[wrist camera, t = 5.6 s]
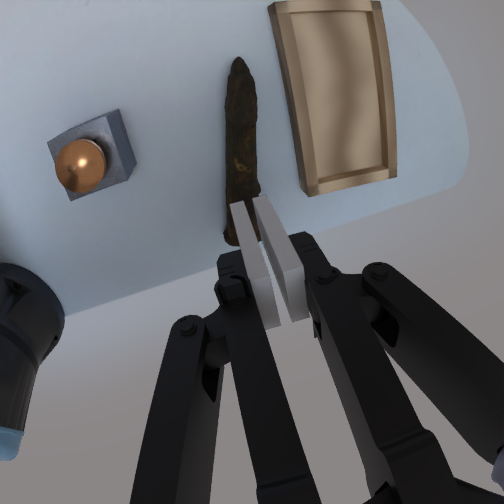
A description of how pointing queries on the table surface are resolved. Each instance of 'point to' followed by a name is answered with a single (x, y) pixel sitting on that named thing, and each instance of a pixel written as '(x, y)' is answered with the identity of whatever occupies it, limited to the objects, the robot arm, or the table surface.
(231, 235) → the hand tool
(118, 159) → the socket block
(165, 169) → the table surface
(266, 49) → the table surface
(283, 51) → the tray
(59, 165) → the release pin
